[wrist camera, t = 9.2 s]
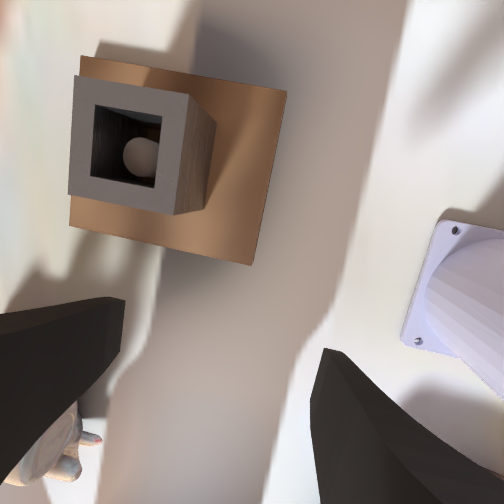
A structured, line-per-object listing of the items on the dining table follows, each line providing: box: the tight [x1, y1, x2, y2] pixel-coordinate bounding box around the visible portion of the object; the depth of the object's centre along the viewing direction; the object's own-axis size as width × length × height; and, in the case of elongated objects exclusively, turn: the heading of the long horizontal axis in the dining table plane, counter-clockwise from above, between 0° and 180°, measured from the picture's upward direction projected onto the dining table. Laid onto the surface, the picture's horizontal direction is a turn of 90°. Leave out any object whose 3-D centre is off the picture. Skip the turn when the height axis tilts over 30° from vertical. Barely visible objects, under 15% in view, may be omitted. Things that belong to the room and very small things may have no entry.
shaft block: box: [69, 55, 287, 266], centre depth 17 cm, size 12×10×4 cm
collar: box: [68, 75, 217, 216], centre depth 15 cm, size 5×5×5 cm
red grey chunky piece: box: [3, 400, 102, 486], centre depth 19 cm, size 11×11×12 cm
